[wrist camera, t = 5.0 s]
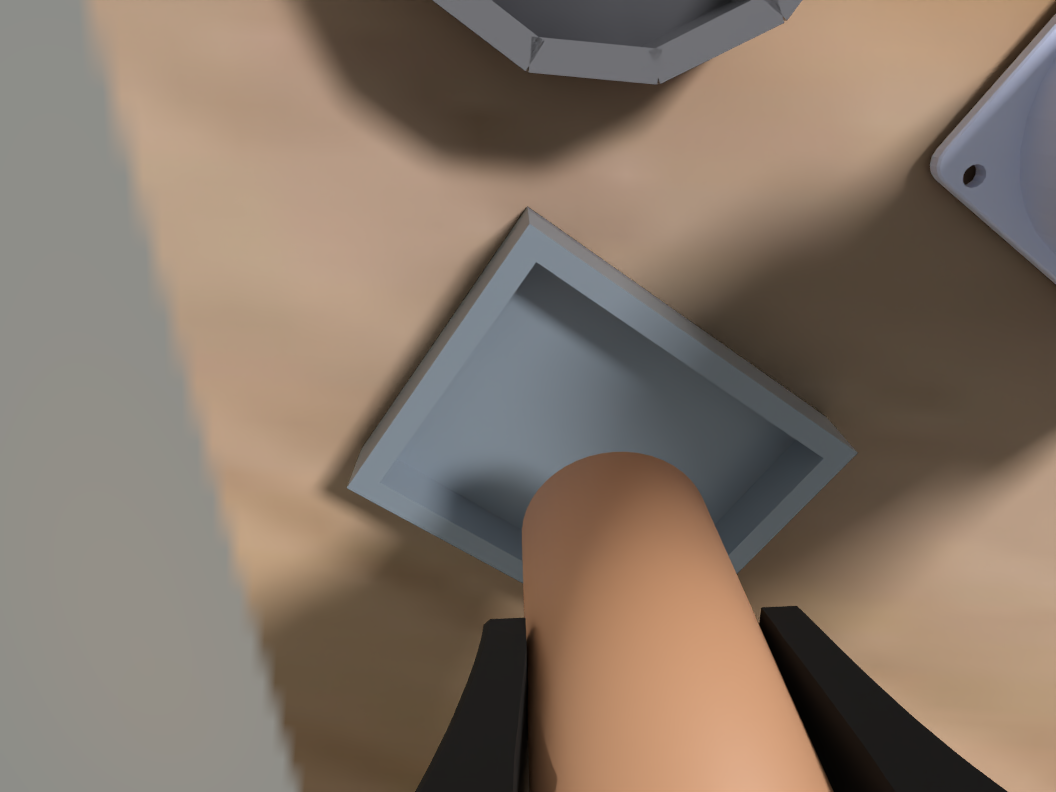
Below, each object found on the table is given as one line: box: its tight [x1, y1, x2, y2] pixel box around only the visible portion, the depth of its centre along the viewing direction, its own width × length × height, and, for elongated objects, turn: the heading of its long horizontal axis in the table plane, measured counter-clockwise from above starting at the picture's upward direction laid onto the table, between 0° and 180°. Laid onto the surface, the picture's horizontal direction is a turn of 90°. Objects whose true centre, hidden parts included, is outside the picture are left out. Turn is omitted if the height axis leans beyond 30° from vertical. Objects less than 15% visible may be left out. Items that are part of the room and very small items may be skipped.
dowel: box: [522, 452, 833, 792], centre depth 12 cm, size 4×4×8 cm
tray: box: [347, 206, 857, 583], centre depth 19 cm, size 10×8×2 cm
